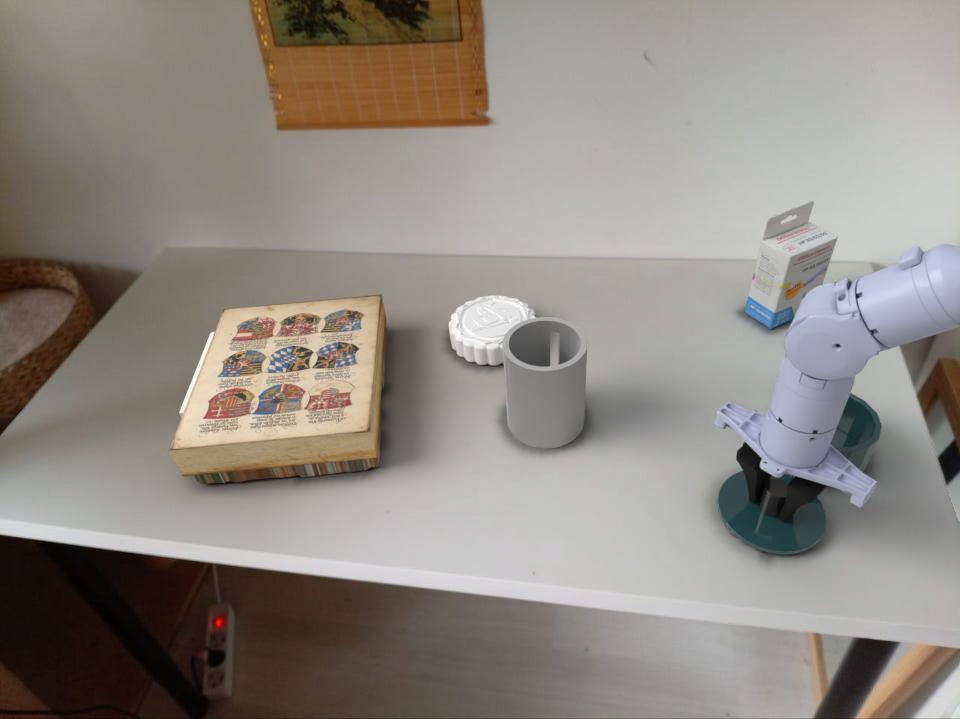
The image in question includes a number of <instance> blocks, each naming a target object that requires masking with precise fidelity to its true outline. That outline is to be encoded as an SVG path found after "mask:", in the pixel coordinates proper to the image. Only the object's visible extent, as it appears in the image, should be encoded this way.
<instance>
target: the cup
mask: <svg viewBox="0 0 960 719" xmlns="http://www.w3.org/2000/svg"><path fill="white" fill-rule="evenodd" d="M551 332H553V333H558V356H557V357H558V359H557V360H558V363H557V365H551ZM587 359H588V339H587V336H586V334H585V333H584V331H583V330H582V329H581V328H580V327H579V326H578V325H576V324H574V323H573V322H571V321H569V320H566V319H562V318H560V317H553V316H552V317H551V316H540V317H536V318H532V319H528V320H525V321H523V322H520V323H518V324H516V325H515V326H513V327H512V328H510V329H509V330H508V332H507V333H506V334H505V336H504V339H503V360H504V364H503V373H504V388H505V405H506V419H507V420H506V421H507V427H508V430H509V431H510V433H511V435H512V436H513V437H514V438H515V439H516V440H518V441H519V442H520V443H522V444H523V445H526V446H528V447H532V448H537V449H545V450H548V449H556V448H560V447H564V446H566V445H568V444H570V443H571V442H573V441H574V440H575V439H576V438H578V437H579V436H580V434H581V433H582V431H583V429H584V425H585V410H586V385H587V364H588V363H587V362H588V360H587Z"/></svg>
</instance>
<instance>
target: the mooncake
mask: <svg viewBox="0 0 960 719" xmlns="http://www.w3.org/2000/svg"><path fill="white" fill-rule="evenodd" d="M535 314H536V313H535V310H534V309H533V308H531V307H530V306H529V305H528V303H526V302H524V301H520V299H518V298H516V297H509V296H507V295H493V294H492V295H485V296H478V297H476V298H475V299H474V300H468V301H466V302H465V303H463V305H460V306H458V307H457V308H456V309H455V312H453V313H452V314H451V315H450V321H449V322H448V332H449V337H450V340H449V341H450V343H451V348H452V350H454V351H456V354H457V356H458V357H459V358H464V359H465V360H466V361H467V362H468V363H476V364H477V365H479V366H486V365H489V366H492V367H497V366H499V365H501V364H503V365H504V360H503V339H504V336H505V334H506V333H507V332H508V330H509V329H510V328H512V327H513V326H515V325H516V324H518V323H520V322H523V321H525V320H528V319H532V318H537V316H536V315H535Z"/></svg>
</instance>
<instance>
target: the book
mask: <svg viewBox="0 0 960 719" xmlns="http://www.w3.org/2000/svg"><path fill="white" fill-rule="evenodd" d="M387 338H388V328H387V314H386V309H385V304H384V298H383V294H380V293H379V294H371V295H360V296H359V295H358V296H350V297H339V298H328V299H318V300H306V301H295V302H285V303H276V304H275V303H273V304H264V305H253V306H242V307H233V308H223V309H222V311H221V314H220V317H219V320H218V322H217V325H216V327H215V329H214V331H211V332H209V335H208V339H207V341H206V344H205V345H204V349H203V351H202V353H201V356H200V358H199V361H198V364H197V366H196V368H195V372H194V373H193V377H192V378H191V381H190V383H189V384H190V385H189V386H188V389H187V392H186V395H185V397H184V399H183V402H182V404H181V407H180V409H179V412H178V414H179V417H180V421H179V423H178V426H177V429H176V431H175V433H174V436H173V438H172V441H171V444H170V447H169V450H168V452H169V455H170V456H171V458H172V460H173V462H174V464H175V465H176V467H177V469H178V471H179V473H180V475H181V476H182V477H189V476H194V478H195V479H196V482H198V483H199V484H201V485H206V484H226V483H227V482H233V483H241V482H245V481H254V480H255V481H256V480H262V479H275V478H280V479H282V478H290V477H297V476H300V478H308V477H315V476H322V475H332V474H333V475H334V474H336V473H337V474H338V473H355V472H361V471H367V470H368V469H370V468H376V467H379V466H380V458H381V457H380V456H381V451H380V450H381V442H382V441H381V439H382V426H383V423H382V422H383V421H382V420H383V416H382V411H381V401H382V391H383V389H384V388H385V377H386V376H385V374H386V371H385V369H386V351H387V342H388V341H387V340H388V339H387Z"/></svg>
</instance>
